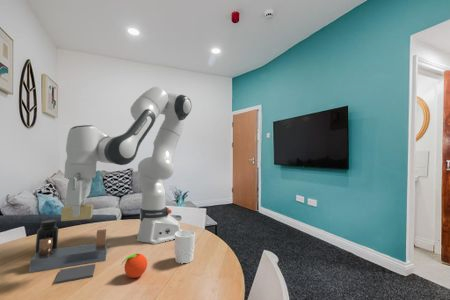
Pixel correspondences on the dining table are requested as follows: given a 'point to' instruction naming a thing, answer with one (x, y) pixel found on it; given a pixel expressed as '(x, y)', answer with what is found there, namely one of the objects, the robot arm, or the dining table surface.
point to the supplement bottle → (47, 233)
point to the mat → (75, 273)
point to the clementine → (135, 265)
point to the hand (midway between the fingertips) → (78, 213)
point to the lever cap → (85, 212)
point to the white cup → (184, 246)
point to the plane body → (68, 254)
